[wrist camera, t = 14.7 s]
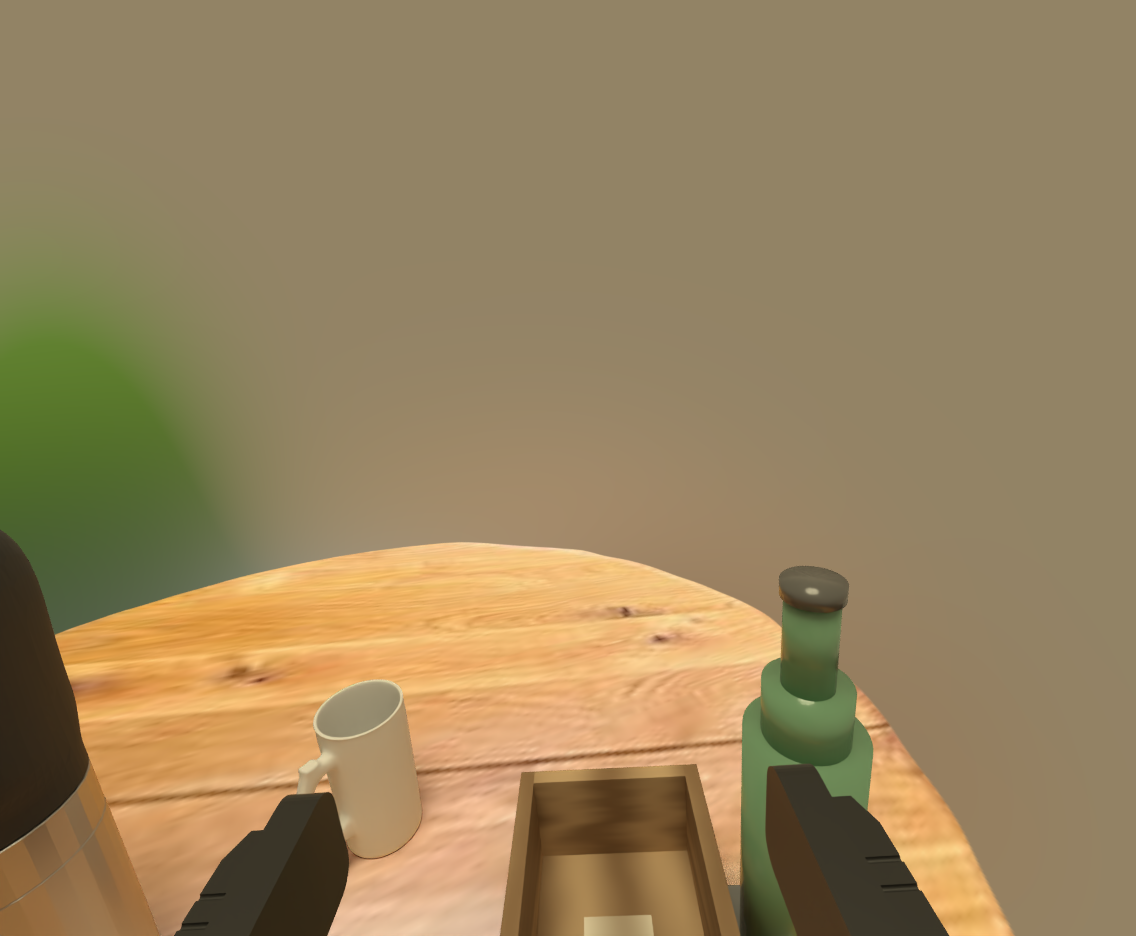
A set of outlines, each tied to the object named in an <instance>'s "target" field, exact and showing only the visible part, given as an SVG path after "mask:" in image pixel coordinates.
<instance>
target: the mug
mask: <svg viewBox="0 0 1136 936" xmlns="http://www.w3.org/2000/svg"><path fill="white" fill-rule="evenodd" d="M313 726H314V730H315V732H316V737H317V741H318V745H319V748H320V752H321V756H320V757H319V758H318V759H317V760H310V761H309V762H307V763H306V764H305V765H303V766H302V767H300V768H299V770H298V771H299V783H298V789H297V794H310V793H314V792H315V789H316V787H317V785H318V783H319V781H320V780H321V778H322V777H323V776H324V775H325V774H326V773H327V776H328V780H329V783H330V787H331V790H332V794H333V797H334V800H335V803H336V807H337V811H338V815H339V819H340V823H341V827H342V831H343V835H344V838H345V841H347V844H348V847H349V848H350V850H351V851H352V852H353V853H354V854H355V855H357V856H359V857H363V858H379V857H383V856H386V855H388V854H391V853H393V852H395V851H396V850H398V849H399V848H401V847H402V846H403V845H405V844H406V843H407V842H408V841H409V840H410V839H411V837H412V836H413V835H414V833H415V832H416V830H417V829H418V827H419V824H420V822H421V818H422V806H421V799H420V793H419V785H418V780H417V774H416V768H415V762H414V756H413V750H412V744H411V738H410V732H409V726H408V720H407V714H406V709H405V704H404V699H403V692H402V690H401V688H400V687H399V686H398V685H397V684H396V683H394V682H391V681H388V680H368V681H363V682H359V683H356V684H353V685H351V686H348V687H346V688H344V689H342V690H340V691H339V692H337V693H335V694H334V695H332V696H331V697H330V698H329V699H327V700H326V701H325V702H324V703H323V704H322V705H321V707H320V708H319V709H318V711H317V713H316V714H315V717H314V721H313Z"/></svg>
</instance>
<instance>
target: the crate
mask: <svg viewBox="0 0 1136 936" xmlns="http://www.w3.org/2000/svg"><path fill="white" fill-rule="evenodd" d="M500 936H740V932H739V928H738V924H737V920H736V916H735V912H734V909H733V905H732V901H731V897H730V893H729V889H728V885H727V881H726V878H725V874H724V870H723V866H722V862H721V858H720V854H719V850H718V846H717V843H716V839H715V835H714V831H713V827H712V823H711V819H710V815H709V812H708V808H707V804H706V800H705V796H704V792H703V788H702V784H701V780H700V777H699V773H698V769H697V765H696V764H691V765H669V766H648V767H627V768H606V769H584V770H563V771H542V772H522V773H521V780H520V788H519V796H518V803H517V811H516V818H515V826H514V834H513V841H512V849H511V857H510V864H509V872H508V880H507V887H506V895H505V902H504V910H503V918H502V925H501V933H500Z"/></svg>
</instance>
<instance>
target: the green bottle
mask: <svg viewBox="0 0 1136 936" xmlns="http://www.w3.org/2000/svg"><path fill="white" fill-rule="evenodd" d="M848 590H849V584H848V581H847V580H846V579H845V578H844V577H843V576H841V575H840V574H838V573H836V572H834V571H831V570H828V569H825V568H820V567H814V566H797V567H792V568H789V569H786V570H784V571H783V572H782V573H781V574H780V576H779V595H780V597H781V599H782V600H783V612H782V638H781V658H778V659H776V660H773V661H771V662H770V663H768V664H767V665H766V666H765V667H764V669H763V671H762V675H761V696H760V697H758V698H757V699H755V700H754V701H753V702H751V703H750V704H749V706H748V707H747V708H746V710H745V712H744V715H743V721H742V787H741V858H740V928H739V932H740V936H797V934H796V931H795V928H794V926H793V923H792V920H791V918H790V915H789V912H788V909H787V907H786V904H785V901H784V899H783V896H782V893H781V890H780V888H779V885H778V882H777V880H776V877H775V874H774V871H773V868H772V865H771V861H770V858H769V853H768V848H767V843H766V834H765V817H766V785H767V769H768V767H769V766H777V765H793V764H812V765H813V766H814V767H815V768H816V769H817V771H818V772H819V774H820V776H821V778H822V780H823V781H824V783H825V785H826V787H827V789H828V791H829V792H830V794H831V796H832V797H837V796H852V797H853V798H854V799H855V800H856V801H857V802H858V803H859V804H860V805H861V806H862V807H864V808H865V809H866V810H867V809H868V799H869V789H870V779H871V769H872V759H873V745H872V741H871V738H870V736H869V734H868V732H867V730H866V729H865V727H864V726H863V725H862V724H861V722H860V721H859V720H858V719H857V718H856V717H855V711H856V699H857V691H856V688H855V685H854V684H853V682H852V681H851V679H850V678H849V677H848V676H847V675H846V674H845V673H843V672H842V671H841V670H839V669H838V659H839V646H840V633H841V619H842V609H843V608H844V607H845V606H846V605H847V601H848Z"/></svg>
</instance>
